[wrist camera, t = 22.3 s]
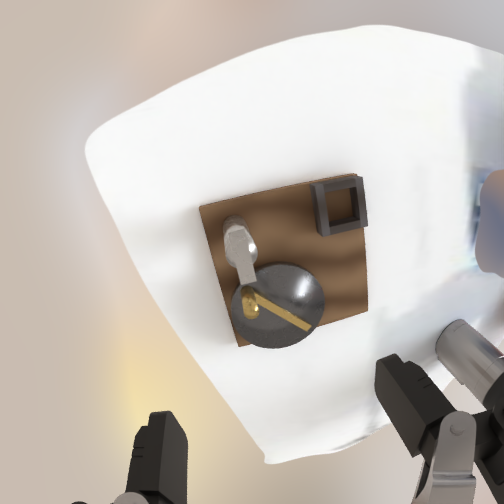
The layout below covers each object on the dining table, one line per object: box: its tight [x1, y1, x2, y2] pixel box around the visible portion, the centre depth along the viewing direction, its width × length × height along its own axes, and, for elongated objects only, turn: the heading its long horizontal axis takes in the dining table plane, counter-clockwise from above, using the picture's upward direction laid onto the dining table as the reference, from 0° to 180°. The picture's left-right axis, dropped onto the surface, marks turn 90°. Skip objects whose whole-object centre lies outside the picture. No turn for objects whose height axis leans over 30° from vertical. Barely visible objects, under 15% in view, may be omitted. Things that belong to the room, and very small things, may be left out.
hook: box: [223, 215, 258, 285], centre depth 30 cm, size 5×3×11 cm, turn 12°
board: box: [199, 173, 368, 347], centre depth 37 cm, size 20×20×3 cm
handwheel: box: [231, 261, 325, 349], centre depth 35 cm, size 12×12×6 cm
